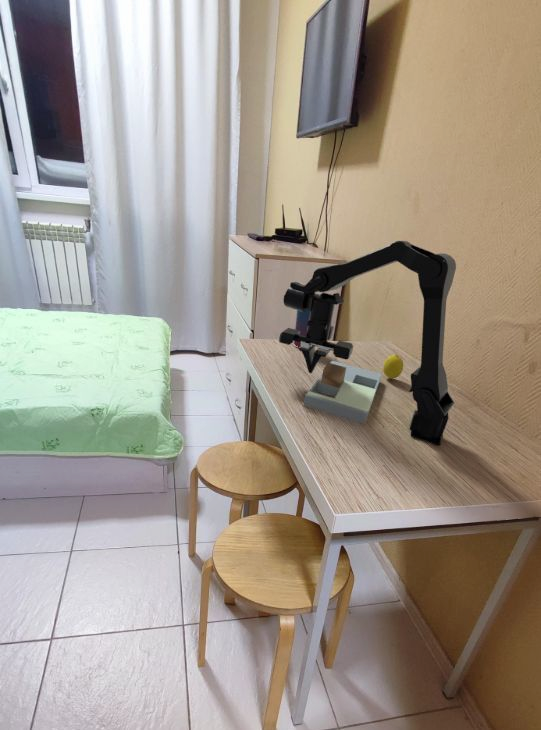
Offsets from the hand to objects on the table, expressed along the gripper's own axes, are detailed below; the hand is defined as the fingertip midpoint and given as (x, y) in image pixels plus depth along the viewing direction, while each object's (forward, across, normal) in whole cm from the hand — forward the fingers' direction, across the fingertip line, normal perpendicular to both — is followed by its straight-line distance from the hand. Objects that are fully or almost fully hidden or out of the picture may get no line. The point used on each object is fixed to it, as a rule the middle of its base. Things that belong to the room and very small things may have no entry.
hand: (310, 372), depth 102 cm
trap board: (+4, -10, -2) cm, 11 cm away
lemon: (+4, -20, -18) cm, 27 cm away
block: (+1, -6, 0) cm, 6 cm away
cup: (+4, +11, -26) cm, 29 cm away
